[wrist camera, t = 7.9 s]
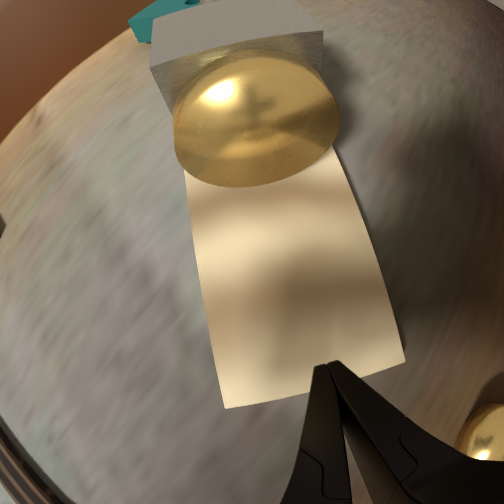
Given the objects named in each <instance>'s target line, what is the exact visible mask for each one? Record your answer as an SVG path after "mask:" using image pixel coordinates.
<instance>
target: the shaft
mask: <svg viewBox="0 0 504 504" xmlns="http://www.w3.org/2000/svg"><path fill="white" fill-rule="evenodd" d="M215 1H219V0H200V2H199V3H198V5H202V4H206V3H210V2H215ZM198 5H197V6H198ZM340 121H341V117H340V111H339V108H338V105H337V103H336V101H335V99H334V98H333V96H332V94H331V93H330V91H329V89H328V88H327V86H326V84H325V83H324V81H323V79H322V78H321V76H320V75H319V73H318V72H317V71H316V69H315V68H314V67H313V66H312V65H310V64H309V63H308V62H307V61H305V60H303V59H302V58H300V57H298V56H296V55H293V54H290V53H288V52H284V51H279V50H273V49H250V50H243V51H238V52H235V53H231V54H228V55H225V56H223V57H220V58H218V59H216V60H214V61H212V62H210V63H209V64H207V65H205V66H204V67H202V68H201V69H200V70H198V71H197V72H196V73H195V74H194V75H193V76H192V77H191V78H189V80H188V81H187V82H186V83H185V84H184V86H183V87H182V89H181V90H180V92H179V94H178V95H177V98H176V101H175V103H174V108H173V132H174V145H175V152H176V156H177V159H178V161H179V163H180V164H181V166H182V167H183V168H184V169H185V170H186V171H187V172H188V173H189V174H190V175H192V176H193V177H194V178H196V179H198V180H200V181H203V182H205V183H208V184H212V185H215V186H221V187H231V188H242V187H253V186H260V185H265V184H269V183H273V182H277V181H279V180H282V179H285V178H288V177H290V176H292V175H295V174H297V173H299V172H301V171H302V170H304V169H306V168H307V167H309V166H310V165H312V164H313V163H315V162H316V161H317V160H318V159H319V158H321V157H322V156H323V155H324V154H325V153H326V152H327V151H328V149H329V148H330V147H331V145H332V144H333V142H334V141H335V139H336V137H337V134H338V132H339V128H340Z"/></svg>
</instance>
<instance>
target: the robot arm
mask: <svg viewBox="0 0 504 504" xmlns="http://www.w3.org/2000/svg"><path fill="white" fill-rule="evenodd" d="M344 434H345V437H346V439H347V441H348V444H349V446H350V449H351V451H352V453H353V456H354V458H355V461H356V463H357V465H358V468H359V470H360V473H361V475H362V477H363V480H364V482H365V485H366V487H367V490H368V492H369V495H370V497H371V499H372V502H373V504H504V461H494V460H481V459H475V458H472V457H469V456H467V455H465V454H463V453H461V452H460V451H458V450H456V449H454V448H453V447H451V446H449V445H447V444H446V443H444V442H442V441H440V440H439V439H437V438H435V437H434V436H432V435H431V434H429V433H428V432H426V431H424V430H423V429H422V428H420V427H419V426H418V425H416V424H415V423H414V422H413V421H411V420H410V419H409V418H408V417H405V415H404V414H403V413H402V412H400V411H399V410H398V409H397V408H395V407H394V406H393V405H392V404H391V403H389V402H388V401H387V400H386V399H385V398H383V397H382V396H381V395H380V394H379V393H377V392H376V391H375V390H374V389H373V388H371V387H370V386H369V385H368V384H367V383H365V382H364V381H363V380H362V379H361V378H359V377H358V376H357V375H356V374H355V373H354V372H352V371H351V370H350V369H349V368H348V367H346V366H345V365H344V364H343V363H342V362H341V361H339V360H334V361H331V362H328V363H327V364H325V363H324V364H320V365H316V366H314V368H313V374H312V380H311V386H310V392H309V398H308V404H307V409H306V414H305V420H304V425H303V430H302V435H301V440H300V445H299V450H298V453H297V458H296V462H295V465H294V469H293V473H292V475H291V478H290V481H289V484H288V486H287V489H286V491H285V493H284V496H283V498H282V500H281V502H280V504H352V495H351V486H350V477H349V469H348V461H347V453H346V446H345V439H344Z"/></svg>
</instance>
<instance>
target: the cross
mask: <svg viewBox="0 0 504 504" xmlns="http://www.w3.org/2000/svg"><path fill="white" fill-rule="evenodd" d="M0 238H1V236H0ZM0 483H1V484H2V485H3V487H4V488H5V490H6V491H7V492H8V494H9V495H10V496H11V498H12V499H13V500H14V501H15V503H16V504H64V503H63V502H62V501H61V500H60V499H59V498H58V497H57V496H56V495H55V494H54V493H53V492H52V491H51V490H50V489H49V488H48V486H47V485H46V484H45V483H44V482H43V481H42V480H41V479H40V477H39V476H38V475H37V474H36V473H35V472H34V470H33V469H32V468H31V467H30V466H29V465H28V463H27V462H26V461H25V460H24V458H23V457H22V456H21V455H20V453H19V452H18V451H17V449H16V448H15V447H14V445H13V444H12V443H11V441H10V440H9V439H8V437H7V436H6V434H5V433H4V432H3V430H2V429H1V427H0Z"/></svg>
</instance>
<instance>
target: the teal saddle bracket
mask: <svg viewBox="0 0 504 504" xmlns="http://www.w3.org/2000/svg"><path fill="white" fill-rule="evenodd" d="M199 2H200V0H157V1H156V2H154V3H152V4H151V5H149V6H148V7H146V8H145V9H143V10H142V11H140V12H139V13H138V14H136V15H135V16H133V17H132V18H131V19H129V20H128V23H129V25H130V27H131V28H132V30H133V32H134V34H135V36H136V38H137V39H138V41H139V43H141V42H151V38H152V27H153V19H155V18H158V17H161V16H164V15H167V14H170V13H174V12H177V11H180V10H184V9H187V8H191V7H195V6H197V5H198V3H199Z"/></svg>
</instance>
